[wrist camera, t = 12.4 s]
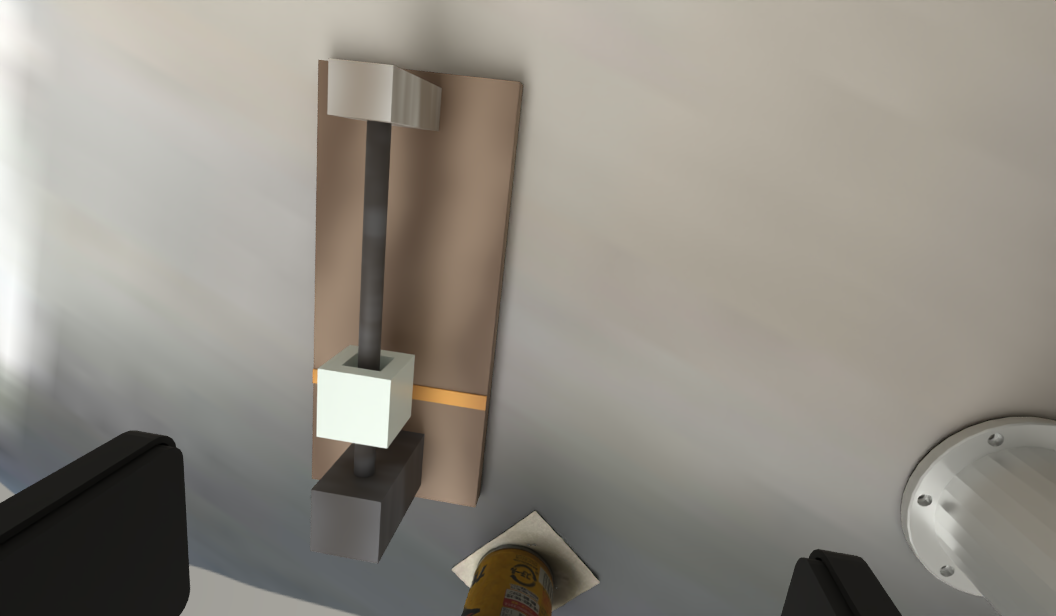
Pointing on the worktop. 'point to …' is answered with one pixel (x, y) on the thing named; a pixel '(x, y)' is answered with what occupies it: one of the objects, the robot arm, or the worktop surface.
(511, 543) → the condiment
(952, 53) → the worktop surface
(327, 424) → the sleeve
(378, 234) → the rod slider rig
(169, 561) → the robot arm
